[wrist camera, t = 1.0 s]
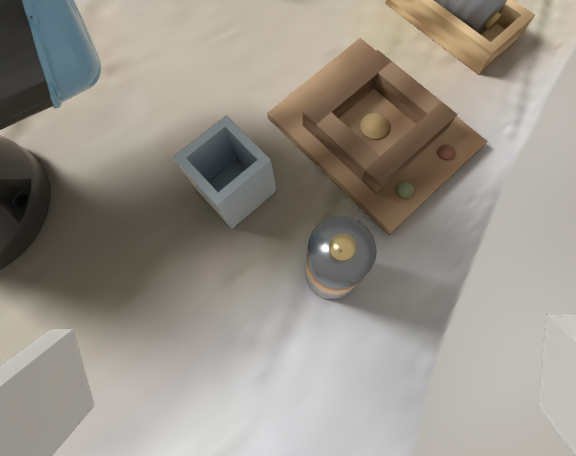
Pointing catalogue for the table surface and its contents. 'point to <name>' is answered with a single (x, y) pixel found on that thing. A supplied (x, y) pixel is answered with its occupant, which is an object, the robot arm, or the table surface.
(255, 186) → the cup
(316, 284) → the cell
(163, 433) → the table surface
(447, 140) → the cradle
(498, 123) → the table surface
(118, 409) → the table surface
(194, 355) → the table surface
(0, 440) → the robot arm
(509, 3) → the trough
